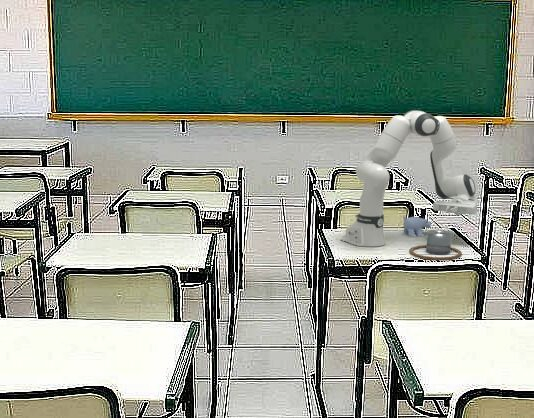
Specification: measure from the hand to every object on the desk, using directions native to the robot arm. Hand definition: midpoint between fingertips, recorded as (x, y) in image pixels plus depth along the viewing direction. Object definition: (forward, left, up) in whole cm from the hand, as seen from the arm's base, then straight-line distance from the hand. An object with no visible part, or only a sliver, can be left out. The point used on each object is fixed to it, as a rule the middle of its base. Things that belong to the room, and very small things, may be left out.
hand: (448, 210), depth 353 cm
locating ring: (+4, -14, -17) cm, 23 cm away
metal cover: (+3, -11, -17) cm, 21 cm away
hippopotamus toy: (-26, +10, -18) cm, 33 cm away
